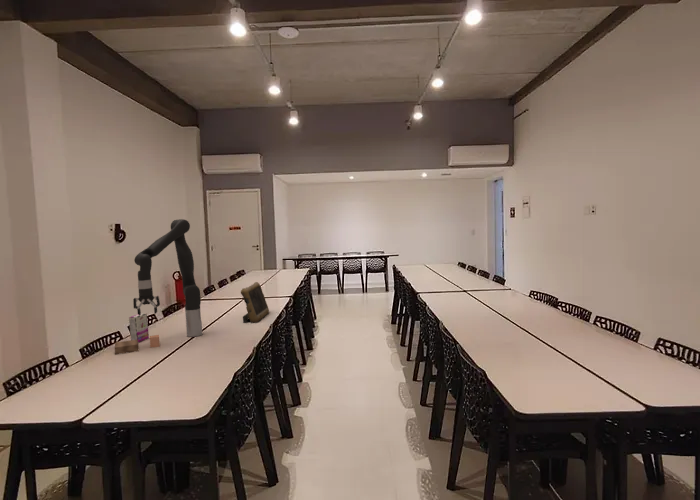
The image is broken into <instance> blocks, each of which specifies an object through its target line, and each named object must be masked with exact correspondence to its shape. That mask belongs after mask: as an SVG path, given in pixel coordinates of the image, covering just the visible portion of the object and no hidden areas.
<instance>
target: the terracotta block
mask: <svg viewBox="0 0 700 500" xmlns="http://www.w3.org/2000/svg"><path fill="white" fill-rule="evenodd" d="M160 343H161V342H160V336H159V334H156V335H149V344H150V345H149V346H150V348H151V347H153V348H159V346H160V345H161V344H160Z"/></svg>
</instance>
